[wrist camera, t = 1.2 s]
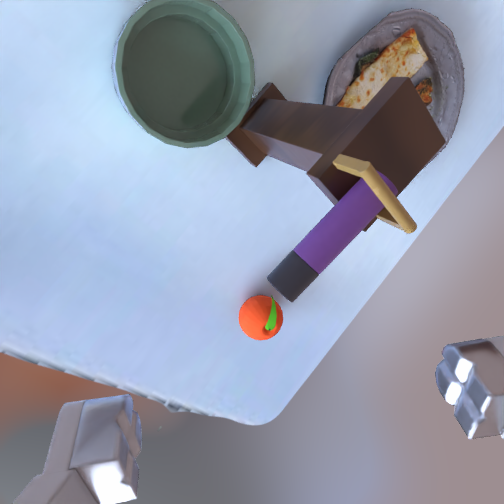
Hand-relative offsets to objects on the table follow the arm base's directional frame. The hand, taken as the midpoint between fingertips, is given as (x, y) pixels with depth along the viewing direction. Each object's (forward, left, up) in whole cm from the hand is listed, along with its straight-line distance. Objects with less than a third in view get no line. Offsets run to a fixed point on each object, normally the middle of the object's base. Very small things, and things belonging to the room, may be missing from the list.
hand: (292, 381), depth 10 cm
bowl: (-9, +4, -44) cm, 45 cm away
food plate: (-13, +36, -45) cm, 59 cm away
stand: (-6, +16, -44) cm, 48 cm away
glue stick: (+1, +13, -19) cm, 22 cm away
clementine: (+21, +23, -45) cm, 54 cm away
